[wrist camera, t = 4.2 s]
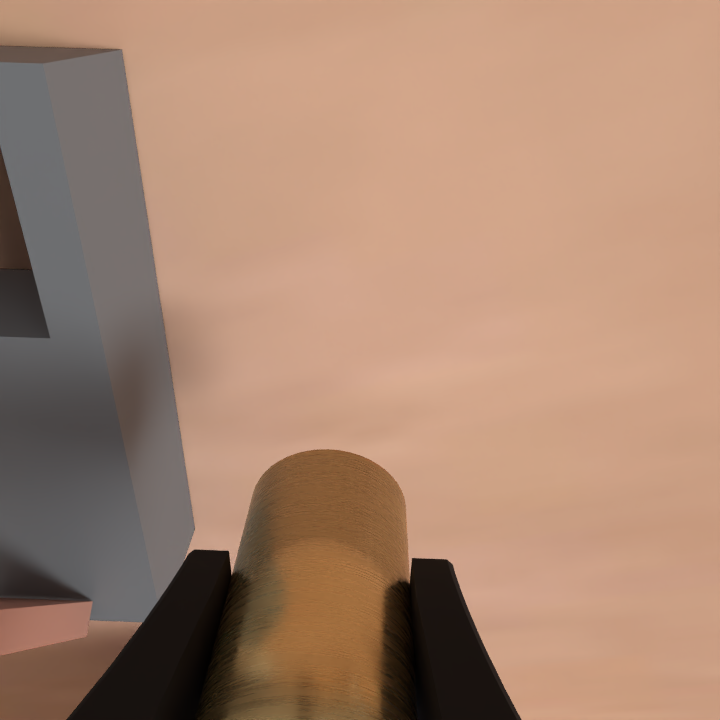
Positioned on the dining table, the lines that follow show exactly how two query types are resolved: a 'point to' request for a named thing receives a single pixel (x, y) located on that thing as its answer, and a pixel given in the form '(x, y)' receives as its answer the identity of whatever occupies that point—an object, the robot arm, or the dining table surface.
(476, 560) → the dining table surface
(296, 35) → the dining table surface
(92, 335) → the block
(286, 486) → the brass pin
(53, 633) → the bar
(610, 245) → the dining table surface
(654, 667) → the dining table surface
